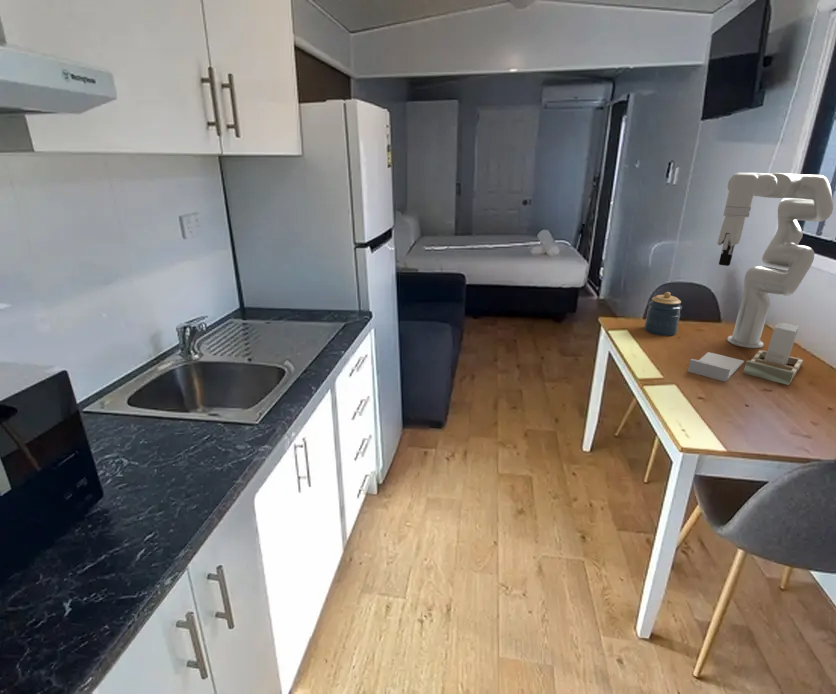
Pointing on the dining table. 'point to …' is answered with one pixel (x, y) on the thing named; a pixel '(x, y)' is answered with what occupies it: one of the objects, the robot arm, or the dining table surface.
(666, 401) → the dining table surface
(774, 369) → the divided wooden tray
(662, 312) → the canister
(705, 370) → the grey sloped stand
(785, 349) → the skincare box
